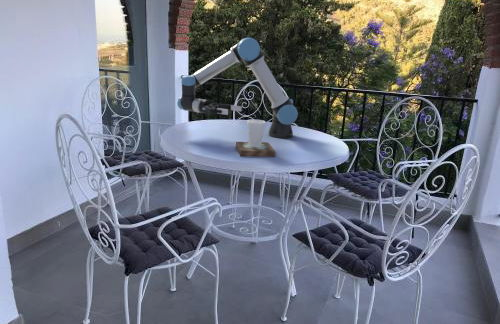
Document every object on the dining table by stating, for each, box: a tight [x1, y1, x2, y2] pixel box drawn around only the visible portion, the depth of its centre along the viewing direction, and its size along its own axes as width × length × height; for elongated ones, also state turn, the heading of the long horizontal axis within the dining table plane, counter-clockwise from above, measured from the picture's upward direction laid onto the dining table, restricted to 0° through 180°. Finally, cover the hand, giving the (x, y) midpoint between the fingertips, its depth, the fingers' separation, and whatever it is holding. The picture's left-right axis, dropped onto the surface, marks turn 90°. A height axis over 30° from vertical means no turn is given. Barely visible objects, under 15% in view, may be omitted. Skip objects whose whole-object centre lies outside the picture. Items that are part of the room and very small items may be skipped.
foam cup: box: [246, 119, 266, 147], centre depth 213 cm, size 10×9×13 cm
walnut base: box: [235, 141, 276, 158], centre depth 215 cm, size 18×18×3 cm
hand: (234, 110), depth 219 cm, fingers open, 13 cm apart
